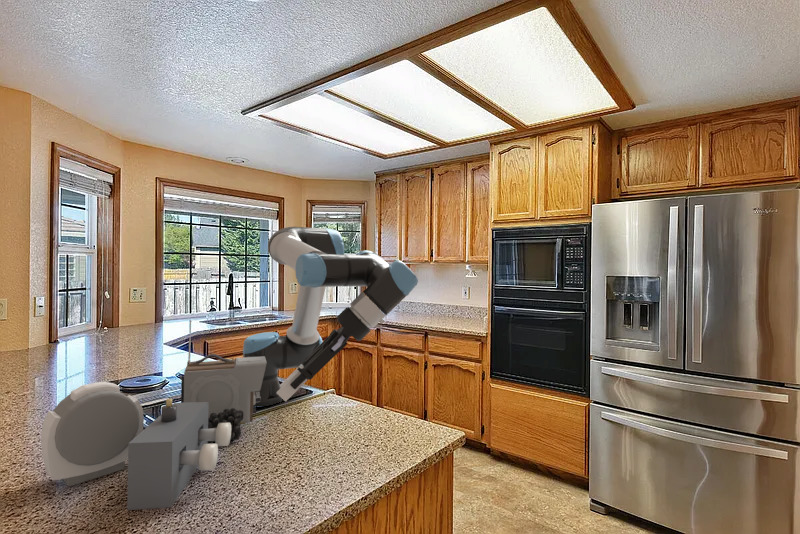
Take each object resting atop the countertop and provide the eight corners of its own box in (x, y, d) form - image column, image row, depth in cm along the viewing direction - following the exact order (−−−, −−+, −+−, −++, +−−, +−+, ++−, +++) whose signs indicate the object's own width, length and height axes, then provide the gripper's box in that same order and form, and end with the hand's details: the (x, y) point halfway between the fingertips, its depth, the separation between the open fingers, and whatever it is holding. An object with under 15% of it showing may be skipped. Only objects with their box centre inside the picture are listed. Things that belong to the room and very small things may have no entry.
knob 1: (199, 441, 104) (199, 420, 104) (231, 440, 105) (231, 419, 105) (192, 450, 99) (192, 428, 99) (225, 449, 100) (226, 427, 100)
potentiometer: (164, 417, 96) (164, 397, 96) (178, 417, 96) (178, 397, 96) (158, 422, 93) (159, 401, 93) (173, 422, 93) (173, 401, 93)
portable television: (265, 421, 130) (267, 323, 129) (178, 431, 121) (180, 325, 121) (263, 408, 141) (264, 318, 140) (182, 416, 132) (184, 320, 132)
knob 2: (181, 464, 92) (182, 440, 92) (217, 463, 93) (218, 439, 93) (172, 476, 87) (173, 451, 87) (211, 474, 88) (211, 449, 88)
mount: (173, 454, 106) (174, 402, 106) (207, 453, 107) (208, 401, 107) (127, 510, 82) (128, 443, 82) (171, 507, 84) (172, 441, 83)
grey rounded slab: (132, 454, 106) (133, 373, 106) (145, 465, 100) (146, 380, 100) (38, 482, 92) (40, 389, 92) (48, 496, 86) (50, 397, 86)
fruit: (183, 412, 110) (244, 406, 115) (189, 412, 118) (247, 406, 122) (181, 448, 108) (244, 441, 112) (187, 445, 116) (246, 439, 120)
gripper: (375, 336, 86) (290, 419, 84) (368, 323, 104) (298, 392, 101) (349, 309, 86) (263, 393, 83) (347, 301, 103) (275, 370, 101)
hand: (282, 392), depth 92 cm, fingers open, 4 cm apart
